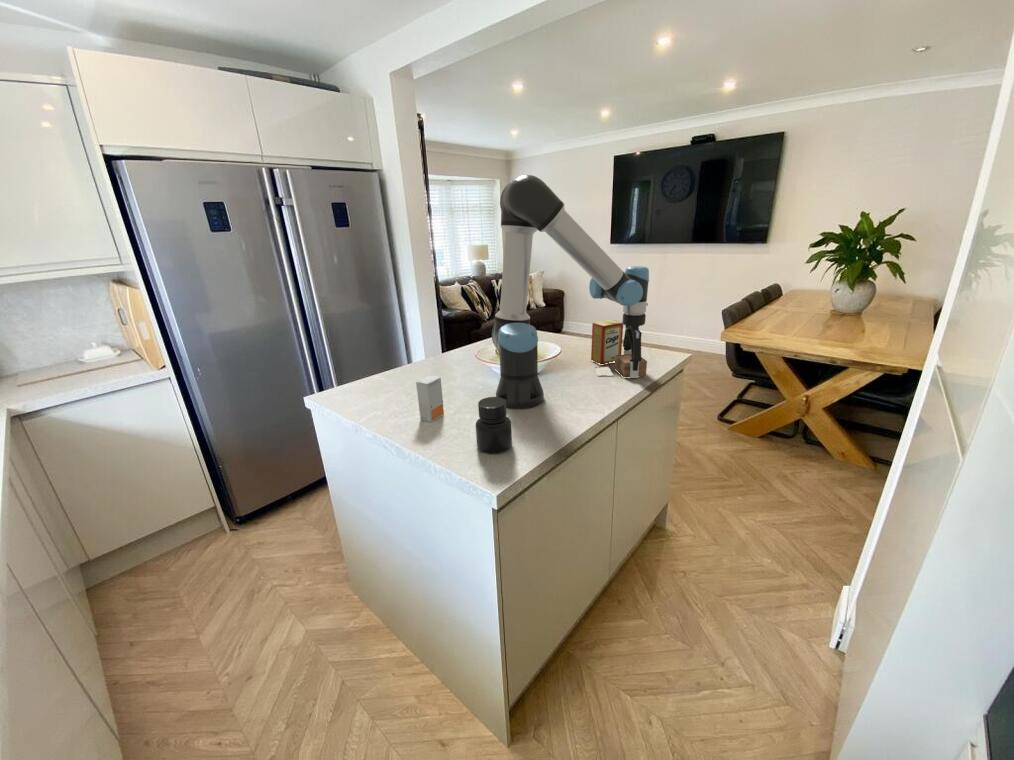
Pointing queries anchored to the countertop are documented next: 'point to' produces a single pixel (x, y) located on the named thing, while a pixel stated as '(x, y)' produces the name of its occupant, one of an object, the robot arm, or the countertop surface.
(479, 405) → the ink bottle
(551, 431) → the countertop surface
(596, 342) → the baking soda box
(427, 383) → the skincare box
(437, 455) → the countertop surface
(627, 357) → the walnut block
